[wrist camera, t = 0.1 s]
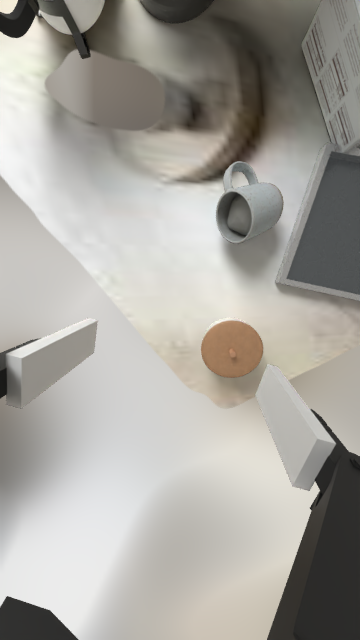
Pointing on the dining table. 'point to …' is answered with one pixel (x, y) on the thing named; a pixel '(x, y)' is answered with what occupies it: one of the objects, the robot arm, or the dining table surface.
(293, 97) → the dining table surface
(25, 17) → the coffee press
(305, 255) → the square tray
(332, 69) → the supplement box
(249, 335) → the lidded jar
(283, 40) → the dining table surface
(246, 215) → the ceramic mug
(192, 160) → the dining table surface
